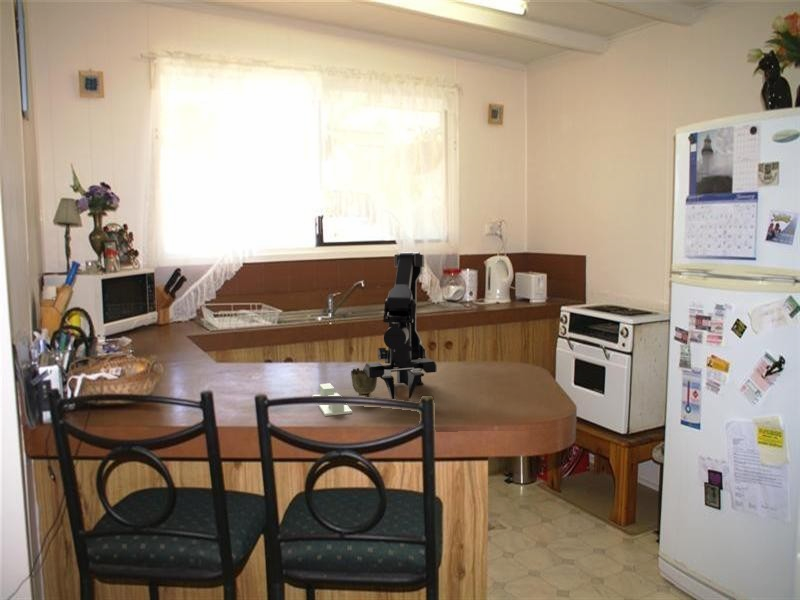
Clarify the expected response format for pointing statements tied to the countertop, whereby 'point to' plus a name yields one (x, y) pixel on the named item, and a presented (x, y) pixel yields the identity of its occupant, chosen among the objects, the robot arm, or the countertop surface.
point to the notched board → (327, 411)
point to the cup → (363, 383)
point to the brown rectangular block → (401, 392)
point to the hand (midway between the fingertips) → (400, 398)
